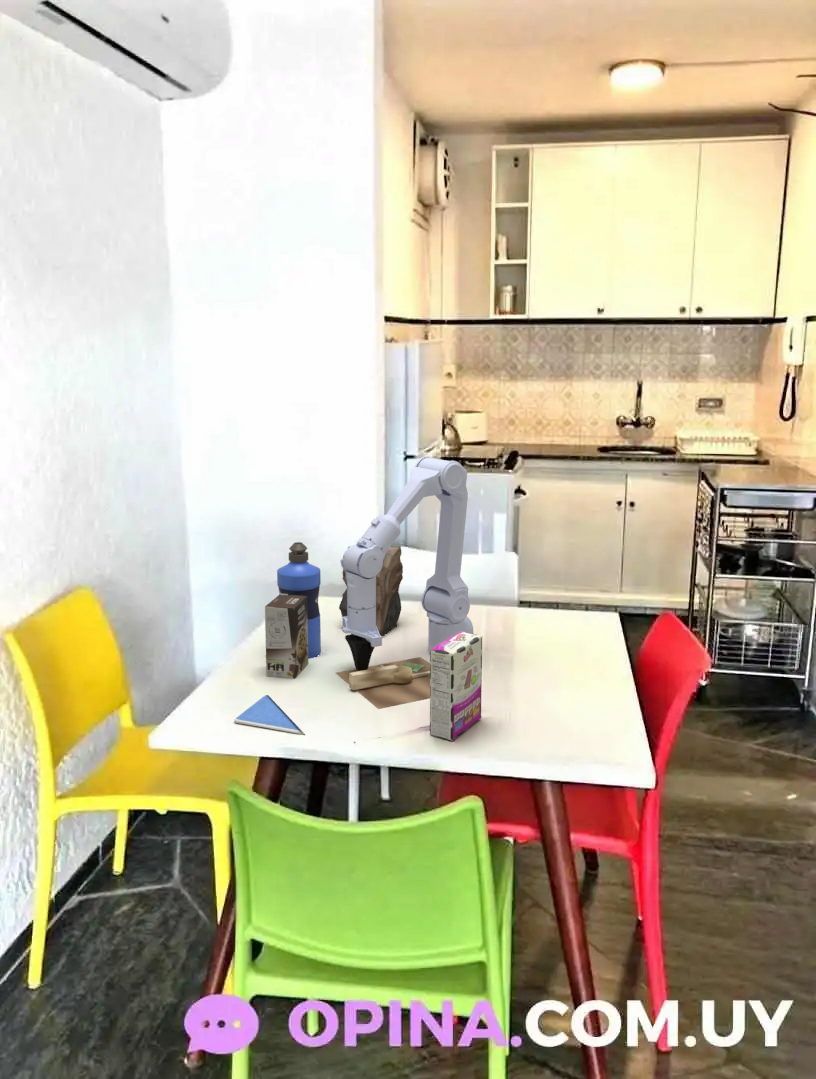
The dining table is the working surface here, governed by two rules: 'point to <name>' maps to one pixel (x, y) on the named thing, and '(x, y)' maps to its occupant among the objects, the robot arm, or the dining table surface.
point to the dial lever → (382, 676)
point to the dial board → (397, 685)
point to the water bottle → (303, 591)
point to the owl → (384, 592)
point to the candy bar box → (455, 685)
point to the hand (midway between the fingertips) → (361, 669)
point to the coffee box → (286, 636)
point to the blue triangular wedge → (267, 716)
